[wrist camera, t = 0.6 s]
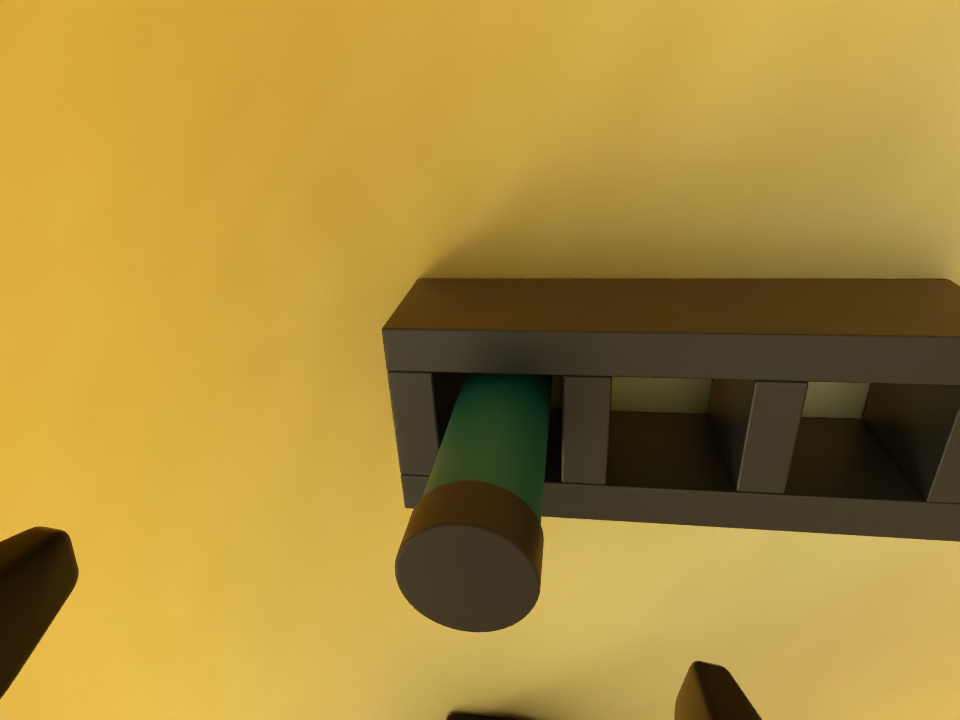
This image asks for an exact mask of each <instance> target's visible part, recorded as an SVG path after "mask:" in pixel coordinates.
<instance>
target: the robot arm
mask: <svg viewBox="0 0 960 720" xmlns="http://www.w3.org/2000/svg"><path fill="white" fill-rule="evenodd" d="M78 573H79V571H78V566H77V562H76V558H75V554H74V551H73V547H72V543H71V539H70V537H69V535H68V534H67V533H66V532H65V531H62V530H58V529H53V528H48V527H34V528H31V529H28V530H26V531H24V532H22V533H19V534H17V535H15V536H12V537H10V538H8V539H6V540H3V541H1V542H0V699H1V698H2V696H3V695H4V694H5V692H6V691H7V690H8V688H9V687H10V685H11V684H12V682H13V681H14V679H15V678H16V676H17V675H18V674H19V672H20V671H21V669H22V667H23V666H24V664H25V663H26V661H27V660H28V658H29V657H30V655H31V654H32V652H33V651H34V649H35V647H36V646H37V644H38V643H39V641H40V640H41V638H42V637H43V635H44V634H45V632H46V630H47V629H48V627H49V626H50V624H51V623H52V621H53V620H54V618H55V617H56V615H57V614H58V612H59V610H60V609H61V607H62V606H63V604H64V603H65V601H66V600H67V598H68V597H69V595H70V594H71V592H72V590H73V589H74V587H75V585H76V582H77V579H78ZM446 720H500V719H491V718H483V717H474V716H465V715H456V714H451V715H448V716H447V718H446ZM675 720H762V719H761V717H760V716H759V715H758V713H757V712H756V710H755V709H754V707H753V706H752V704H751V703H750V701H749V700H748V699H747V697H746V696H745V694H744V693H743V691H742V690H741V688H740V687H739V685H738V684H737V683H736V681H735V680H734V678H733V677H732V675H731V674H730V673H729V671H728V670H727V669H726V668H724V667H723V666H720V665H716V664H711V663H706V662H701V661H695V662H693V663H692V664H691V666H690V667H689V670H688V672H687V674H686V677H685V679H684V682H683V684H682V686H681V689H680V691H679V693H678V696H677V699H676V703H675Z"/></svg>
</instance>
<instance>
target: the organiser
mask: <svg viewBox="0 0 960 720" xmlns="http://www.w3.org/2000/svg"><path fill="white" fill-rule="evenodd" d="M382 336H383V343H384V351H385V358H386V366H387V370H388V381H389V389H390V396H391V404H392V411H393V419H394V427H395V434H396V442H397V450H398V457H399V465H400V472H401V481H402V489H403V496H404V504H405V508H413V509H414V508H415V506H416V505H417V503H418V502H419V501H420V499H421V498H422V497H423V494H424V491H425V488H426V485H427V483H428V480H429V477H430V474H431V471H432V468H433V466H434V463H435V460H436V457H437V454H438V452H439V449H440V446H441V443H442V440H443V437H444V435H445V432H446V429H447V426H448V423H449V421H450V418H451V415H452V412H453V409H454V406H455V404H456V401H457V398H458V395H459V392H460V389H461V387H462V384H463V373H493V374H533V375H563V376H562V410H553V409H550V415H549V428H548V440H547V452H546V465H545V477H544V489H543V502H542V514H541V516H545V517H562V518H578V519H595V520H611V521H628V522H645V523H661V524H678V525H694V526H711V527H727V528H744V529H761V530H777V531H794V532H810V533H827V534H843V535H860V536H877V537H893V538H910V539H926V540H943V541H959V542H960V286H958V285H957V284H955V283H954V282H952V281H950V280H948V279H417V281H416V282H415V284H414V285H413V286H412V288H411V289H410V291H409V292H408V293H407V295H406V296H405V298H404V299H403V300H402V302H401V303H400V304H399V306H398V307H397V309H396V310H395V311H394V313H393V314H392V316H391V317H390V318H389V320H388V321H387V322H386V324H385V325H384V327H383V328H382ZM612 377H652V378H692V379H713V382H712V390H711V397H710V404H709V411H708V414H709V415H701V414H671V413H642V412H612V411H610V410H611V392H612ZM808 381H811V382H851V383H872V385H871V389H870V392H869V396H868V400H867V403H866V407H865V411H864V414H863V418H862V419H863V420H849V419H820V418H801V415H802V411H803V406H804V402H805V397H806V392H807V388H808Z"/></svg>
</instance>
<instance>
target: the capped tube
mask: <svg viewBox="0 0 960 720" xmlns="http://www.w3.org/2000/svg"><path fill="white" fill-rule="evenodd" d="M552 379H553V375H533V374H493V373H466V375H465V378H464V381H463V384H462V387H461V389H460V392H459V395H458V398H457V401H456V404H455V406H454V409H453V412H452V415H451V418H450V421H449V423H448V426H447V429H446V432H445V435H444V437H443V440H442V443H441V446H440V449H439V452H438V454H437V457H436V460H435V463H434V466H433V468H432V471H431V474H430V477H429V480H428V483H427V485H426V488H425V491H424V494H423V497H422V498H421V499H420V501H419V502H418V503H417V505H416V506H415V508H414V510H413V512H412V515H411V518H410V520H409V523H408V526H407V529H406V531H405V534H404V537H403V540H402V542H401V545H400V548H399V551H398V553H397V557H396V561H395V575H396V579H397V583H398V586H399V588H400V590H401V592H402V594H403V595H404V597H405V598H406V599H407V601H408V602H409V603H410V604H411V605H412V606H413V607H414V608H415V609H416V610H417V611H419V612H420V613H421V614H423V615H424V616H426V617H427V618H429V619H431V620H432V621H434V622H436V623H439V624H441V625H443V626H446V627H449V628H452V629H457V630H461V631H468V632H489V631H496V630H500V629H504V628H506V627H509V626H512V625H514V624H515V623H517V622H519V621H520V620H522V619H523V618H524V617H525V616H526V615H527V614H528V613H529V612H530V611H531V610H532V608H533V607H534V606H535V604H536V602H537V600H538V597H539V593H540V584H541V570H542V557H543V543H544V538H543V531H542V527H541V514H542V502H543V489H544V477H545V465H546V452H547V440H548V428H549V415H550V403H551V391H552Z"/></svg>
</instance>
